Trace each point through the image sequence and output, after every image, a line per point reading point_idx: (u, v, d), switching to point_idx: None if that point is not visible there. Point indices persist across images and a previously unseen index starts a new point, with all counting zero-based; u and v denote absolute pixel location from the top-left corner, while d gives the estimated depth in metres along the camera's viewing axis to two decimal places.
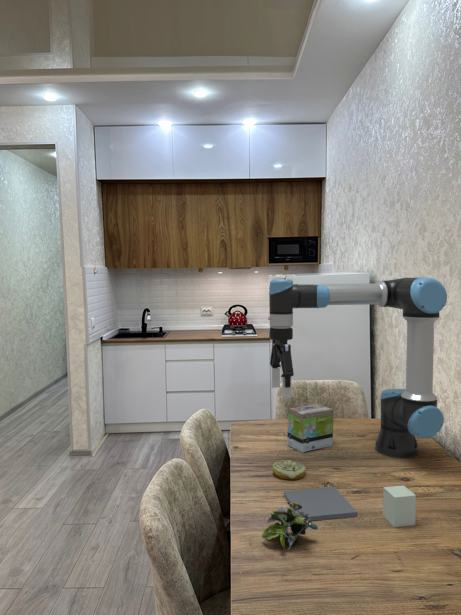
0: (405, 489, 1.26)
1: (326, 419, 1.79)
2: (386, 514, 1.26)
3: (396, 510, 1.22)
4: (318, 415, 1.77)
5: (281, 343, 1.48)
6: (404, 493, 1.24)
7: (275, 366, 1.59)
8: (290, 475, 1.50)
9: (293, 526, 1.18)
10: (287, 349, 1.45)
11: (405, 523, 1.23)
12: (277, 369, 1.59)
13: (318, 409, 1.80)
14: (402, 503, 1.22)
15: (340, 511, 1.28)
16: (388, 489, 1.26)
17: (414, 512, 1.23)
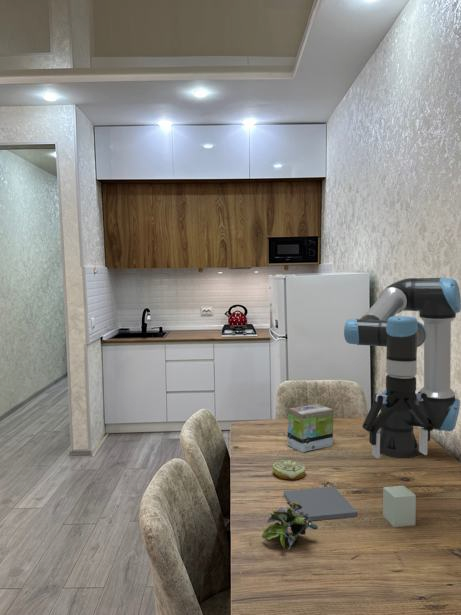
0: (405, 489, 1.26)
1: (326, 419, 1.79)
2: (386, 514, 1.26)
3: (396, 510, 1.22)
4: (318, 415, 1.77)
5: None
6: (404, 494, 1.24)
7: (424, 426, 1.25)
8: (290, 475, 1.50)
9: (293, 526, 1.18)
10: (376, 400, 1.22)
11: (405, 523, 1.23)
12: (423, 431, 1.25)
13: (318, 409, 1.80)
14: (402, 503, 1.22)
15: (340, 511, 1.28)
16: (388, 489, 1.26)
17: (414, 512, 1.23)
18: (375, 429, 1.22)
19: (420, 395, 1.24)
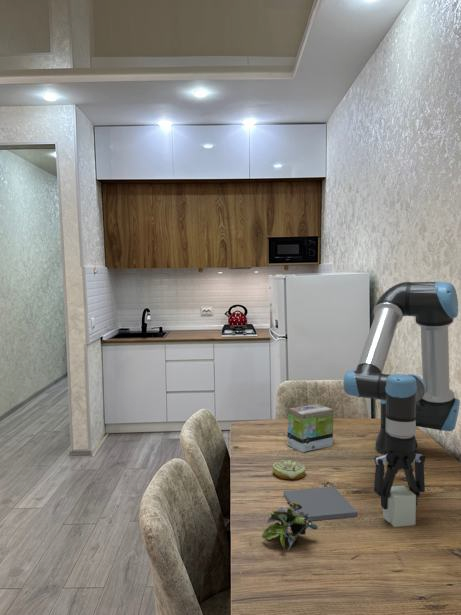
0: (405, 489, 1.26)
1: (326, 419, 1.79)
2: None
3: (396, 510, 1.22)
4: (318, 415, 1.77)
5: None
6: (404, 493, 1.24)
7: (412, 491, 1.26)
8: (290, 475, 1.50)
9: (293, 526, 1.18)
10: (377, 464, 1.24)
11: (405, 523, 1.23)
12: None
13: (318, 409, 1.80)
14: (402, 503, 1.22)
15: (340, 511, 1.28)
16: None
17: (414, 512, 1.23)
18: (386, 494, 1.23)
19: (419, 456, 1.25)
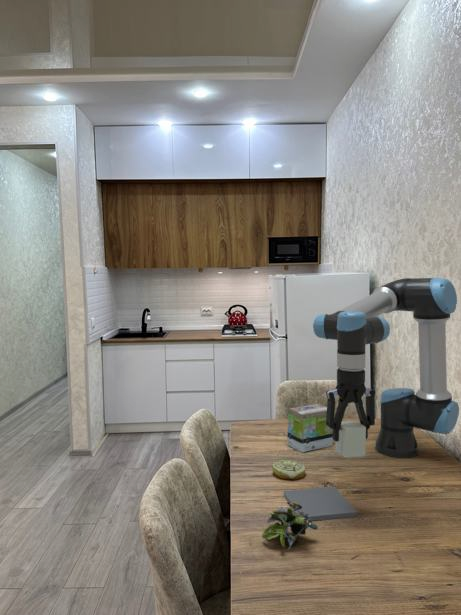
0: (356, 423, 1.30)
1: None
2: None
3: (347, 441, 1.26)
4: (318, 415, 1.77)
5: None
6: (354, 426, 1.28)
7: None
8: (290, 475, 1.50)
9: (293, 526, 1.18)
10: (329, 397, 1.27)
11: (355, 454, 1.27)
12: None
13: (318, 409, 1.80)
14: (353, 434, 1.26)
15: (340, 511, 1.28)
16: None
17: (364, 443, 1.27)
18: (337, 426, 1.27)
19: (369, 390, 1.29)
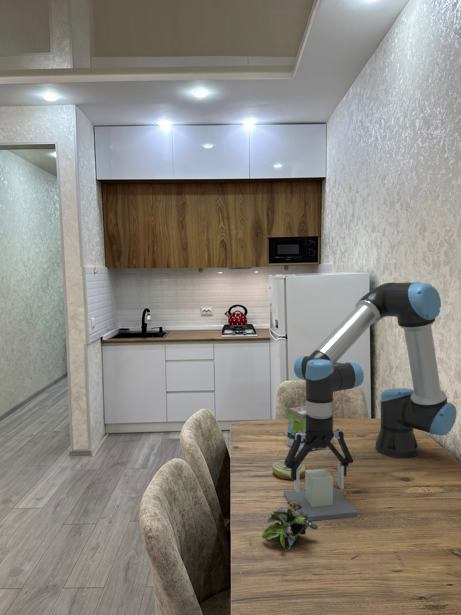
0: (325, 472, 1.35)
1: None
2: (307, 495, 1.35)
3: (314, 491, 1.31)
4: None
5: None
6: (322, 475, 1.32)
7: (341, 462, 1.35)
8: (290, 475, 1.50)
9: (293, 526, 1.18)
10: (295, 438, 1.32)
11: (323, 503, 1.31)
12: (340, 466, 1.34)
13: None
14: (320, 484, 1.31)
15: (340, 511, 1.28)
16: (309, 472, 1.35)
17: (331, 493, 1.32)
18: (295, 466, 1.31)
19: (337, 433, 1.34)
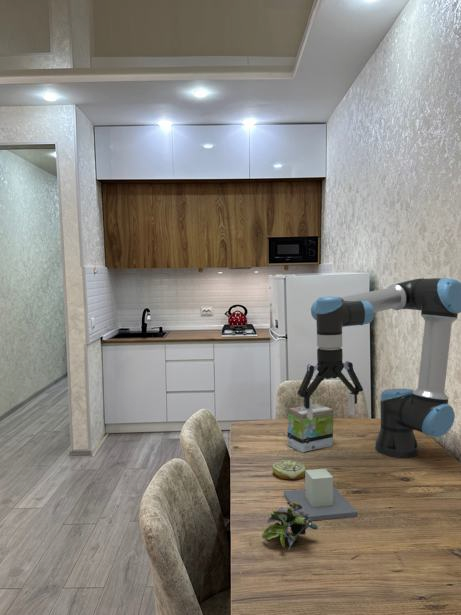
0: (325, 472, 1.35)
1: (326, 419, 1.79)
2: (307, 495, 1.35)
3: (314, 491, 1.31)
4: (318, 415, 1.77)
5: None
6: (322, 475, 1.32)
7: (352, 391, 1.45)
8: (290, 475, 1.50)
9: (293, 526, 1.18)
10: (308, 370, 1.41)
11: (323, 503, 1.31)
12: (350, 395, 1.44)
13: (318, 409, 1.80)
14: (320, 484, 1.31)
15: (340, 511, 1.28)
16: (309, 472, 1.35)
17: (331, 493, 1.32)
18: (308, 395, 1.41)
19: (347, 364, 1.43)
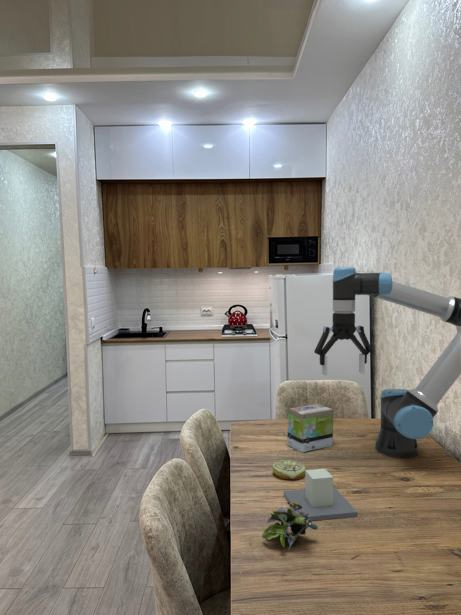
0: (325, 472, 1.35)
1: (326, 419, 1.79)
2: (307, 495, 1.35)
3: (314, 491, 1.31)
4: (318, 415, 1.77)
5: None
6: (322, 475, 1.32)
7: (362, 352, 1.63)
8: (290, 475, 1.50)
9: (293, 526, 1.18)
10: (324, 331, 1.60)
11: (323, 503, 1.31)
12: (361, 355, 1.63)
13: (318, 409, 1.80)
14: (320, 484, 1.31)
15: (340, 511, 1.28)
16: (309, 472, 1.35)
17: (331, 493, 1.32)
18: (323, 353, 1.59)
19: (359, 328, 1.62)
